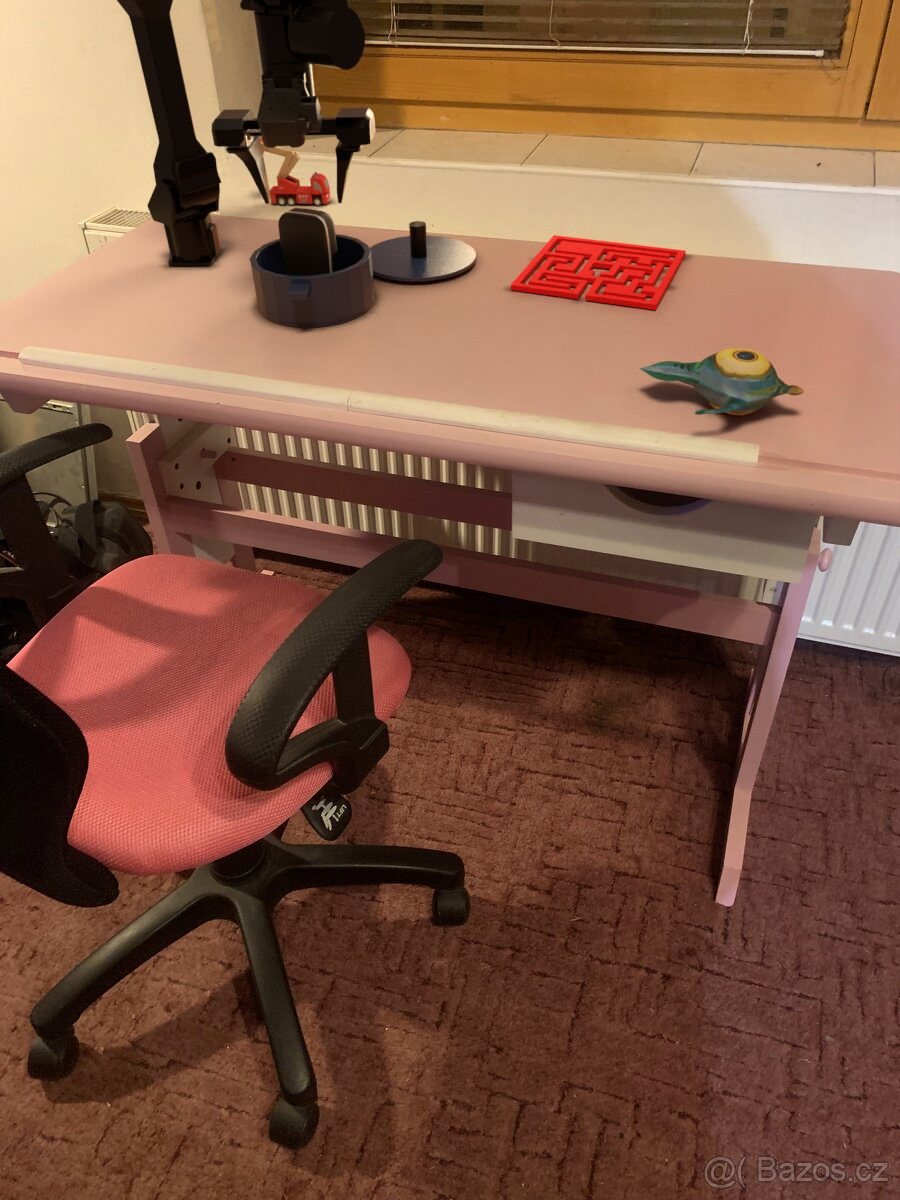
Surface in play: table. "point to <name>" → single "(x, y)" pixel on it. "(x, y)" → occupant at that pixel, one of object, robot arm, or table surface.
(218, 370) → the table surface
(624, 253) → the maze puzzle
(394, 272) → the lid
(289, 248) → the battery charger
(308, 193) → the toy fire truck
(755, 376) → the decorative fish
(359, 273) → the pan
